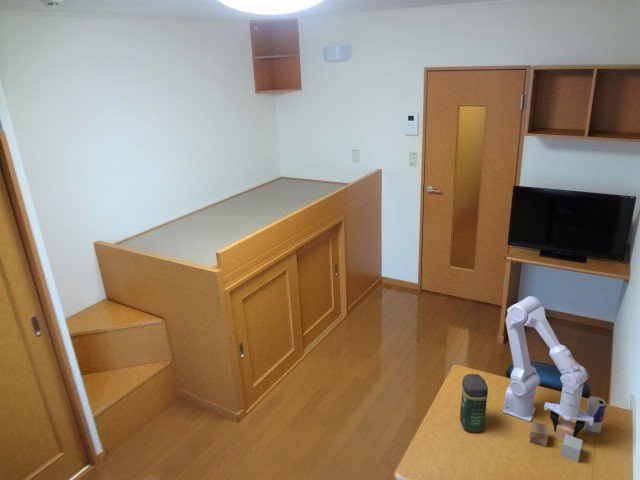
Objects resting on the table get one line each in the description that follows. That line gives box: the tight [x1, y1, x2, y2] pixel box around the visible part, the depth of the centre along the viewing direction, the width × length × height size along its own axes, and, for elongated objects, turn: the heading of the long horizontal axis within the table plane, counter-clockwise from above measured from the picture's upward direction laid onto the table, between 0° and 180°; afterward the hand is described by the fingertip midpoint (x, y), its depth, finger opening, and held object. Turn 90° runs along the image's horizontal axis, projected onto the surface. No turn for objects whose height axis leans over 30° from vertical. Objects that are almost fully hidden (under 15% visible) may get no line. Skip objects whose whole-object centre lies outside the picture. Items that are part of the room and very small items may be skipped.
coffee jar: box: [459, 373, 489, 433], centre depth 167 cm, size 10×8×19 cm
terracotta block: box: [554, 417, 576, 442], centre depth 162 cm, size 5×5×5 cm
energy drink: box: [582, 395, 607, 436], centre depth 163 cm, size 5×5×12 cm
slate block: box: [560, 434, 583, 463], centre depth 155 cm, size 5×5×5 cm
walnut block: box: [529, 420, 549, 448], centre depth 161 cm, size 5×5×5 cm
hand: (565, 433), depth 162 cm, fingers closed on terracotta block, 5 cm apart
